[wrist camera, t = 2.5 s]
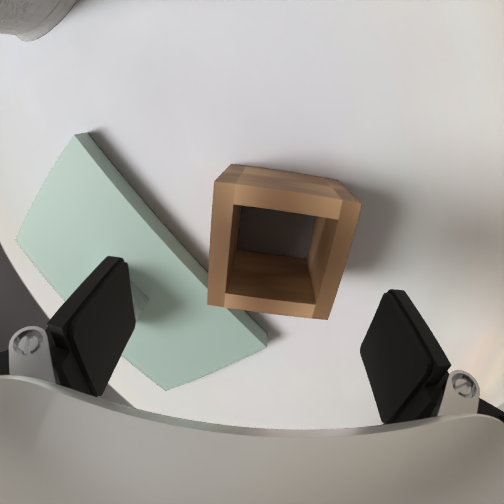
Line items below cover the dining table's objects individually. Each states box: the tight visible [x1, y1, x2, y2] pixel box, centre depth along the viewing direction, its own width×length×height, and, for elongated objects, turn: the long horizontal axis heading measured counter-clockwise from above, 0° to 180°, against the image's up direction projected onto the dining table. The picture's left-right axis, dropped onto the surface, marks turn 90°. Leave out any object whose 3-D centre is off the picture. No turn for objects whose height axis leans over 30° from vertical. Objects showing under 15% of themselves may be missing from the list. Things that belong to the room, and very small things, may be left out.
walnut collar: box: [207, 164, 362, 320], centre depth 15 cm, size 6×6×5 cm
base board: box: [15, 133, 267, 391], centre depth 20 cm, size 20×12×2 cm, turn 38°
